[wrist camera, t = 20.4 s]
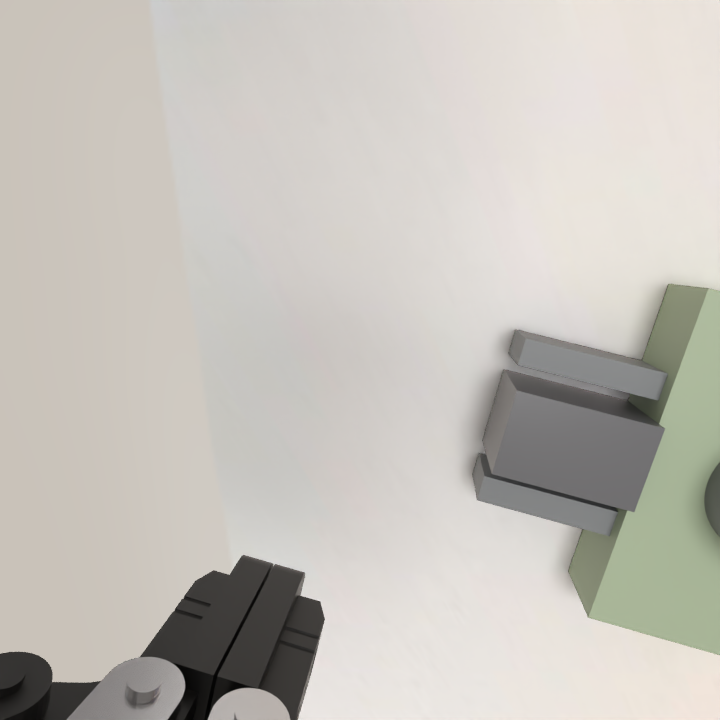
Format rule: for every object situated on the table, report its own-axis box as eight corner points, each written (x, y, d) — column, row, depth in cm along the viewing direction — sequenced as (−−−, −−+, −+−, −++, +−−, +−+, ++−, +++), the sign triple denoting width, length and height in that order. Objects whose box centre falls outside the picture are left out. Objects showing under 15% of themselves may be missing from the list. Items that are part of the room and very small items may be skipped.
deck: (453, 538, 39) (459, 622, 30) (538, 253, 34) (574, 252, 26) (747, 621, 37) (845, 734, 28) (873, 332, 33) (1034, 359, 24)
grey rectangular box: (482, 439, 37) (491, 473, 31) (503, 368, 36) (517, 390, 30) (602, 471, 37) (634, 512, 31) (626, 400, 36) (665, 428, 30)
